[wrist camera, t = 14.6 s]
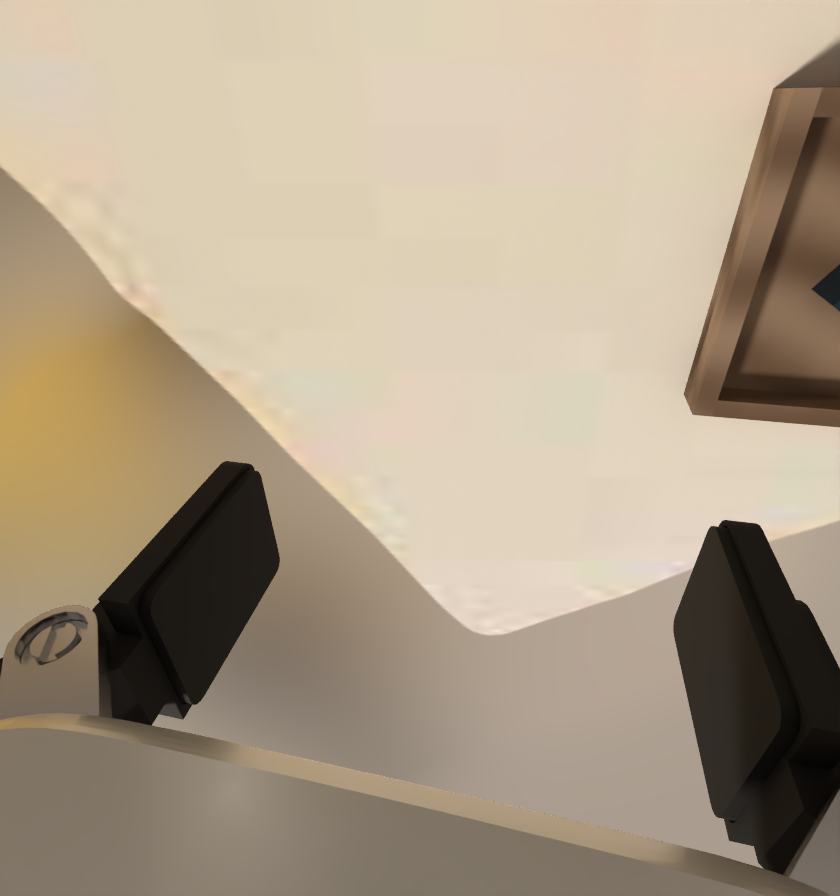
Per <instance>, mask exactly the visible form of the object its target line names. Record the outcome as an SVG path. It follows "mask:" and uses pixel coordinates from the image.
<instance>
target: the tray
mask: <svg viewBox="0 0 840 896" xmlns="http://www.w3.org/2000/svg"><path fill="white" fill-rule="evenodd" d="M839 264H840V87H816V88H778V89H773V92H772V96H771V99H770V102H769V106H768V109H767V113H766V116H765V119H764V123H763V126H762V130H761V133H760V137H759V140H758V143H757V147H756V150H755V154H754V157H753V160H752V164H751V167H750V171H749V174H748V177H747V181H746V184H745V188H744V191H743V194H742V198H741V201H740V205H739V208H738V211H737V215H736V218H735V222H734V225H733V228H732V232H731V235H730V239H729V242H728V245H727V249H726V252H725V256H724V259H723V262H722V266H721V269H720V273H719V276H718V280H717V283H716V286H715V290H714V293H713V297H712V300H711V303H710V307H709V310H708V314H707V317H706V320H705V324H704V327H703V331H702V334H701V337H700V341H699V344H698V348H697V351H696V354H695V358H694V361H693V365H692V368H691V371H690V375H689V378H688V382H687V385H686V388H685V392H684V396H685V398H686V400H687V403H688V405H689V407H690V410H691V412H692V414H693V415H702V416H714V417H725V418H737V419H749V420H761V421H772V422H784V423H796V424H808V425H820V426H831V427H840V312H839V311H838V310H837V309H835V308H834V307H833V306H832V305H830V304H829V303H828V302H827V301H825V300H824V299H823V298H822V297H820V296H819V295H818V294H817V293H815V292H814V291H813V290H812V288H813V287H814V286H815V285H816V284H818V283H819V282H820V281H821V280H822V279H823V278H824V277H826V276H827V275H828V274H829V273H830V272H831V271H832V270H834V269H835V268H836V267H837V266H838V265H839Z"/></svg>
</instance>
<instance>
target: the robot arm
mask: <svg viewBox="0 0 840 896" xmlns="http://www.w3.org/2000/svg"><path fill="white" fill-rule="evenodd" d="M279 562H280V557H279V553H278V548H277V544H276V539H275V535H274V531H273V526H272V522H271V517H270V514H269V509H268V504H267V500H266V496H265V491H264V487H263V483H262V478H261V475H260V473H259V472H258V471H255V470H254V467H253V466H252V465H251V464H247V463H238V462H229V461H226V462H223V463H222V464H221V465H220V466H219V467H218V468H217V469H216V470H215V471H214V472H213V473H212V474H211V475H210V477H209V478H208V479H207V480H206V481H205V482H204V483H203V484H202V485H201V487H200V488H199V489H198V490H197V491H196V492H195V493H194V494H193V495H192V496H191V498H189V500H188V501H187V502H186V503H185V504H184V505H183V506H182V507H181V508H180V509H179V511H178V512H177V513H176V514H175V515H174V516H173V517H172V518H171V519H170V520H169V522H168V523H167V524H166V525H165V526H164V527H163V528H162V529H161V530H160V532H159V533H158V534H157V535H156V536H155V537H154V538H153V539H152V540H151V541H150V543H148V545H147V546H146V547H145V548H144V549H143V550H142V551H141V552H140V553H139V555H138V556H137V557H136V558H135V559H134V560H133V561H132V562H131V563H130V564H129V565H128V567H127V568H126V569H125V570H124V571H123V572H122V573H121V574H120V575H119V576H118V578H117V579H116V580H115V581H114V582H113V583H112V584H111V585H110V586H109V588H107V590H106V591H105V592H104V593H103V594H102V595H101V596H100V597H99V598H98V599H99V601H100V602H99V603H98V604H97V605H96V606H95V608H94V609H93V610H91V609H90V608H88V607H84V606H81V605H69V606H68V605H67V606H63V607H59V608H55V609H52V610H50V611H48V612H45V613H43V614H41V615H39V616H37V617H36V618H34V619H33V620H31V621H29V622H28V623H26V624H25V625H24V626H23V627H22V628H21V629H20V630H19V631H18V632H16V633H15V635H14V636H13V638H12V639H11V640H10V642H9V643H8V645H7V647H6V650H5V653H4V657H3V658H1V659H0V896H840V668H839V667H838V664H837V662H836V660H835V658H834V656H833V654H832V652H831V650H830V648H829V646H828V644H827V642H826V640H825V638H824V636H823V634H822V632H821V630H820V628H819V626H818V624H817V622H816V620H815V618H814V616H813V614H812V612H811V611H810V609H809V607H808V606H807V605H806V604H805V603H803V602H802V601H799V600H796V599H795V597H794V595H793V593H792V591H791V589H790V587H789V585H788V583H787V581H786V578H785V576H784V574H783V572H782V570H781V568H780V566H779V564H778V562H777V559H776V557H775V555H774V553H773V551H772V549H771V547H770V545H769V543H768V540H767V538H766V536H765V534H764V532H763V530H762V528H761V527H760V525H758V524H755V523H746V522H738V521H729V520H724V521H722V522H721V523H720V525H719V527H715V526H711V527H710V528H709V530H708V532H707V535H706V537H705V540H704V542H703V545H702V548H701V550H700V553H699V555H698V558H697V561H696V563H695V566H694V568H693V571H692V574H691V576H690V579H689V582H688V584H687V587H686V589H685V592H684V595H683V597H682V600H681V602H680V605H679V607H678V610H677V613H676V615H675V619H674V637H675V642H676V647H677V651H678V656H679V660H680V665H681V669H682V674H683V679H684V683H685V688H686V692H687V697H688V701H689V706H690V711H691V715H692V720H693V724H694V728H695V733H696V738H697V743H698V747H699V752H700V757H701V761H702V766H703V770H704V775H705V780H706V784H707V789H708V793H709V798H710V802H711V806H712V810H713V812H714V814H715V815H716V817H718V818H723V819H724V821H725V825H726V829H727V833H728V838H729V841H733V842H737V843H742V844H746V845H751V846H754V848H755V852H756V856H757V859H758V863H759V864H760V865H761V866H762V867H763V868H764V869H762V868H759V867H756V866H752V865H749V864H745V863H742V862H739V861H735V860H732V859H729V858H725V857H722V856H718V855H715V854H711V853H707V852H703V851H699V850H694V849H691V848H686V847H683V846H679V845H675V844H671V843H666V842H663V841H658V840H655V839H651V838H647V837H643V836H638V835H634V834H630V833H627V832H623V831H619V830H614V829H610V828H606V827H602V826H597V825H593V824H588V823H584V822H580V821H575V820H571V819H567V818H563V817H558V816H554V815H549V814H545V813H541V812H537V811H532V810H528V809H524V808H520V807H515V806H511V805H507V804H502V803H498V802H494V801H489V800H485V799H481V798H476V797H472V796H468V795H463V794H459V793H454V792H450V791H445V790H441V789H437V788H433V787H428V786H424V785H419V784H415V783H411V782H406V781H402V780H397V779H393V778H389V777H384V776H380V775H375V774H371V773H366V772H362V771H357V770H353V769H348V768H344V767H340V766H335V765H331V764H327V763H322V762H318V761H313V760H309V759H304V758H300V757H295V756H291V755H286V754H282V753H277V752H272V751H268V750H263V749H259V748H254V747H250V746H245V745H241V744H236V743H231V742H227V741H223V740H218V739H213V738H209V737H204V736H200V735H196V734H191V733H186V732H181V731H175V730H171V729H166V728H161V727H156V726H152V724H153V722H154V721H155V719H156V717H157V716H158V714H161V715H165V716H170V717H174V718H179V719H184V717H185V716H186V714H187V712H188V711H189V709H190V707H191V706H192V704H193V705H195V704H198V703H199V702H200V701H201V700H202V698H203V697H204V695H205V694H206V692H207V690H208V688H209V687H210V685H211V683H212V681H213V680H214V678H215V677H216V675H217V673H218V671H219V670H220V668H221V666H222V665H223V663H224V661H225V660H226V658H227V656H228V654H229V653H230V651H231V649H232V648H233V646H234V644H235V642H236V641H237V639H238V637H239V636H240V634H241V632H242V630H243V629H244V627H245V625H246V624H247V622H248V620H249V619H250V617H251V615H252V614H253V612H254V610H255V608H256V607H257V605H258V603H259V601H260V600H261V598H262V596H263V595H264V593H265V591H266V590H267V588H268V586H269V585H270V583H271V581H272V579H273V578H274V576H275V574H276V572H277V570H278V567H279Z"/></svg>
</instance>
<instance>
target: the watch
mask: <svg viewBox="0 0 840 896" xmlns="http://www.w3.org/2000/svg"><path fill="white" fill-rule="evenodd" d="M812 290H813V291H814V292H815V293H817V294H818V295H819V296H820V297H822V298H823V299H824V300H825V301H827V302H828V303H829V304H830V305H832V306H833V307H834V308H835V309H837V310H838V311H839V312H840V264H839V265H838V266H837V267H836V268H835V269H834V270H832V271H831V272H830V273H829V274H828V275H827V276H826V277H824V278H823V279H822V280H821V281H820V282H819V283H818V284H816V285H815V286H814V287H813V288H812Z"/></svg>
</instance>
